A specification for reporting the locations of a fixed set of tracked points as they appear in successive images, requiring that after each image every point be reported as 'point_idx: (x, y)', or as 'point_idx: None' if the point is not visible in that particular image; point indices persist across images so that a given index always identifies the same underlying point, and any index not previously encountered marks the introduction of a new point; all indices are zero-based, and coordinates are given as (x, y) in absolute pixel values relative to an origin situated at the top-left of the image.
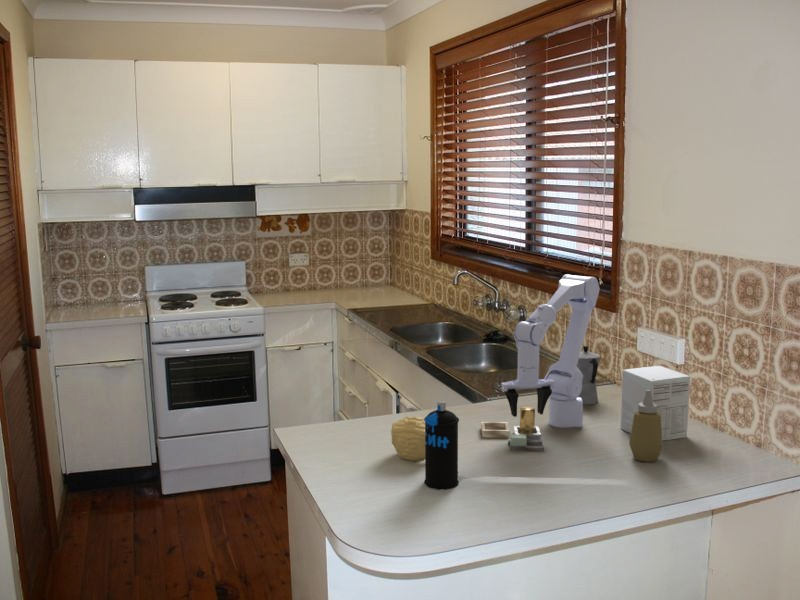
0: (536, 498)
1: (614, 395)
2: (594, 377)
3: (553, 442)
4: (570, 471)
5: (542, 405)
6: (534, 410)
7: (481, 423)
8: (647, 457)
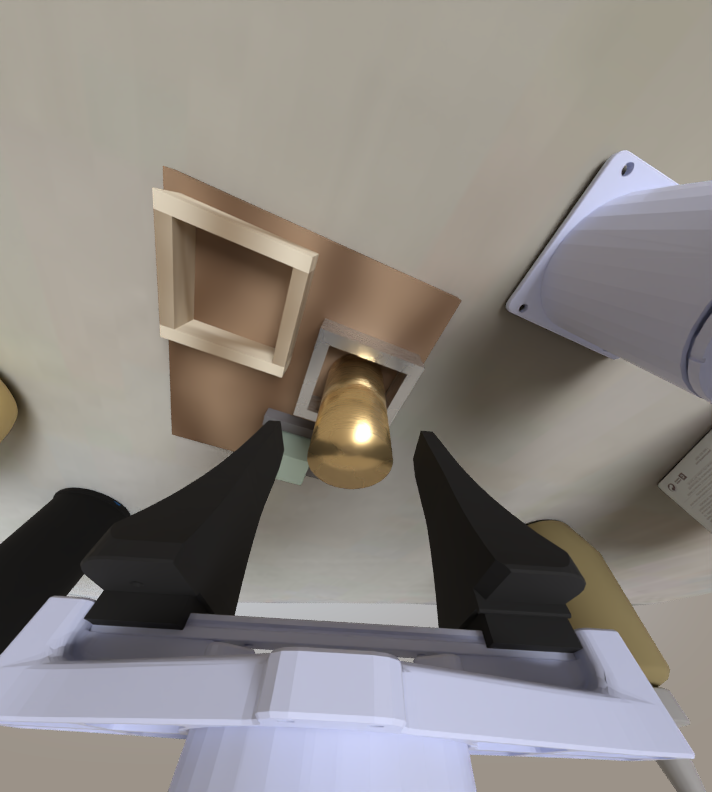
0: (259, 568)
1: None
2: None
3: (430, 409)
4: (357, 531)
5: (425, 510)
6: (378, 479)
7: (154, 225)
8: None
